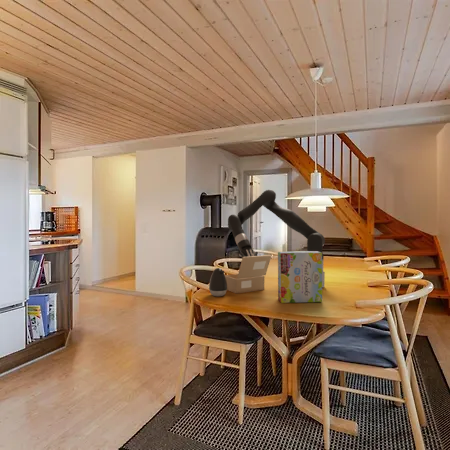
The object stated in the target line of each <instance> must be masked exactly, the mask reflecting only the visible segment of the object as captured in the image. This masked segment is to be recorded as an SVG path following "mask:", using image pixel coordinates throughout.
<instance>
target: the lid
mask: <svg viewBox="0 0 450 450" xmlns="http://www.w3.org/2000/svg"><path fill="white" fill-rule="evenodd" d="M271 258H272V255H271V254H265V255H263V254H262V255H257V256H254V255H253V256H249V257H243V258H241V261H240V262H241V263H240V266H239V269H238V272H237V274H238V277H237V278H246V277H255V276H264V277H265V276H266V275H267V271H268V268H269V265H270V263H271Z"/></svg>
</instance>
